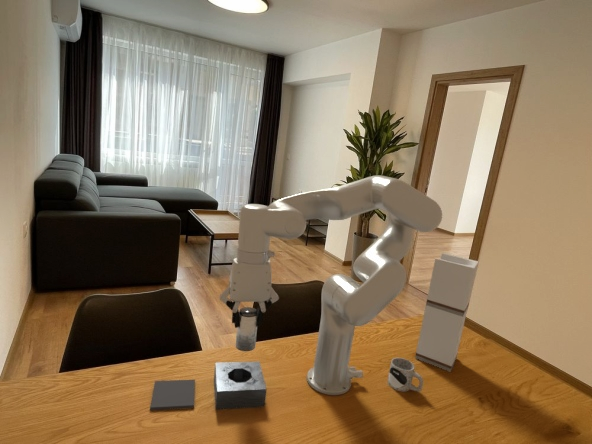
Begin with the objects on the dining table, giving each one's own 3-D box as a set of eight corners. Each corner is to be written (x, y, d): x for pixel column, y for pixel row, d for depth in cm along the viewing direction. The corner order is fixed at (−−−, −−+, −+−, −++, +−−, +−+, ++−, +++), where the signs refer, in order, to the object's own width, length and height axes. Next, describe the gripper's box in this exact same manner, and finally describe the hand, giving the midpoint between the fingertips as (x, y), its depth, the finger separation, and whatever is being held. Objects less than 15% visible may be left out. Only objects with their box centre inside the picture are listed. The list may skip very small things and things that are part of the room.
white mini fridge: (456, 358, 130) (478, 261, 123) (450, 372, 121) (474, 268, 114) (422, 346, 136) (442, 252, 129) (414, 358, 127) (435, 258, 120)
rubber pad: (194, 382, 101) (195, 379, 101) (194, 408, 91) (194, 405, 91) (154, 383, 98) (155, 381, 98) (149, 410, 89) (150, 407, 89)
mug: (383, 383, 111) (387, 362, 110) (394, 374, 116) (398, 355, 115) (415, 401, 105) (419, 379, 103) (425, 391, 110) (429, 371, 108)
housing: (257, 377, 106) (259, 361, 105) (264, 406, 95) (266, 389, 94) (213, 379, 103) (215, 362, 102) (215, 409, 92) (217, 391, 91)
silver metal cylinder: (254, 340, 100) (257, 306, 98) (256, 351, 95) (259, 315, 93) (234, 341, 98) (237, 306, 96) (236, 351, 94) (239, 315, 92)
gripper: (284, 252, 97) (277, 317, 101) (216, 250, 93) (212, 318, 97) (290, 261, 90) (283, 331, 94) (217, 259, 86) (213, 333, 90)
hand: (247, 324), depth 95 cm, fingers closed on silver metal cylinder, 5 cm apart
